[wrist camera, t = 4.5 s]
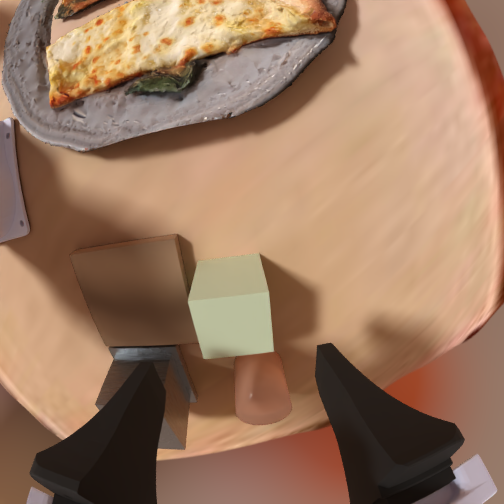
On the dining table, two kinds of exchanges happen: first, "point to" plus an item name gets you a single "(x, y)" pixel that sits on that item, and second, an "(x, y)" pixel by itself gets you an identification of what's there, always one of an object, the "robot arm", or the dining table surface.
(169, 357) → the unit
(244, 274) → the sage block
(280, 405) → the terracotta cylinder
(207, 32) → the food plate
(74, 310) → the dining table surface
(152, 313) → the pad
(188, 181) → the dining table surface
